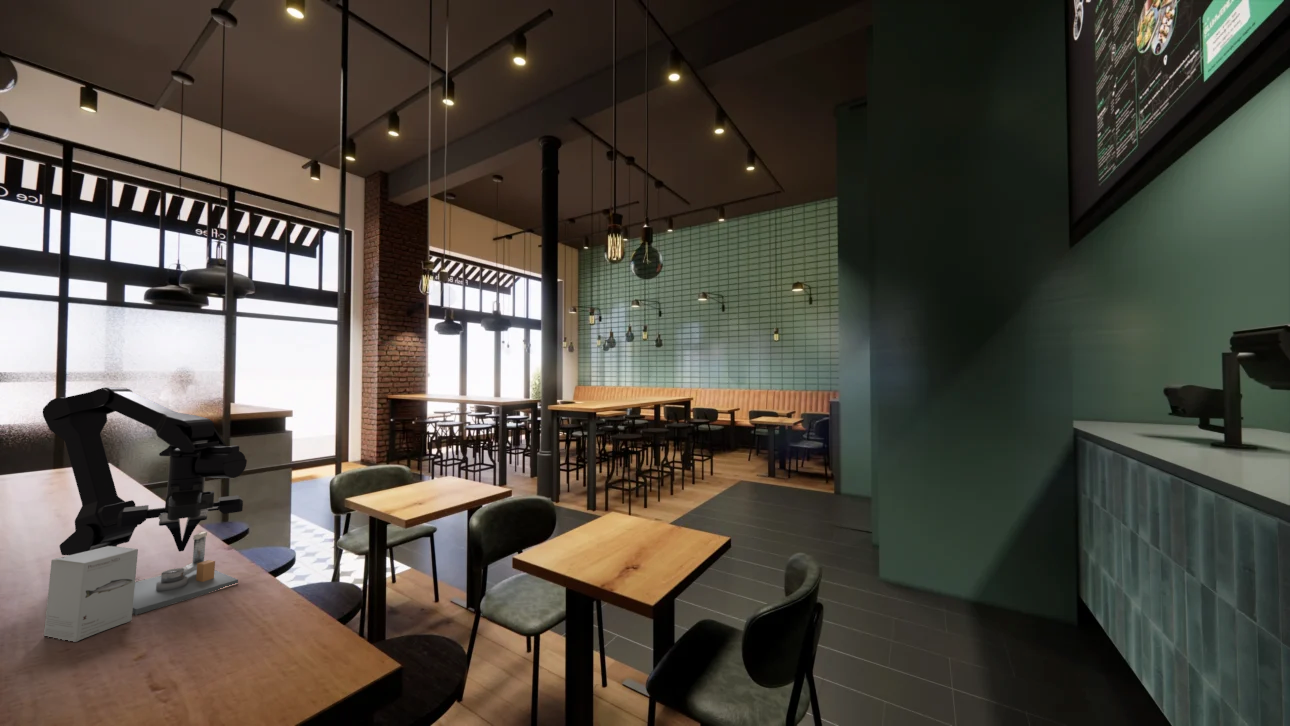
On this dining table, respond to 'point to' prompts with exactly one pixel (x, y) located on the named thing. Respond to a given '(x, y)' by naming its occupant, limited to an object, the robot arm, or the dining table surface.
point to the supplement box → (90, 592)
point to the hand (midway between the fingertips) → (181, 550)
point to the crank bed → (178, 588)
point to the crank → (198, 557)
